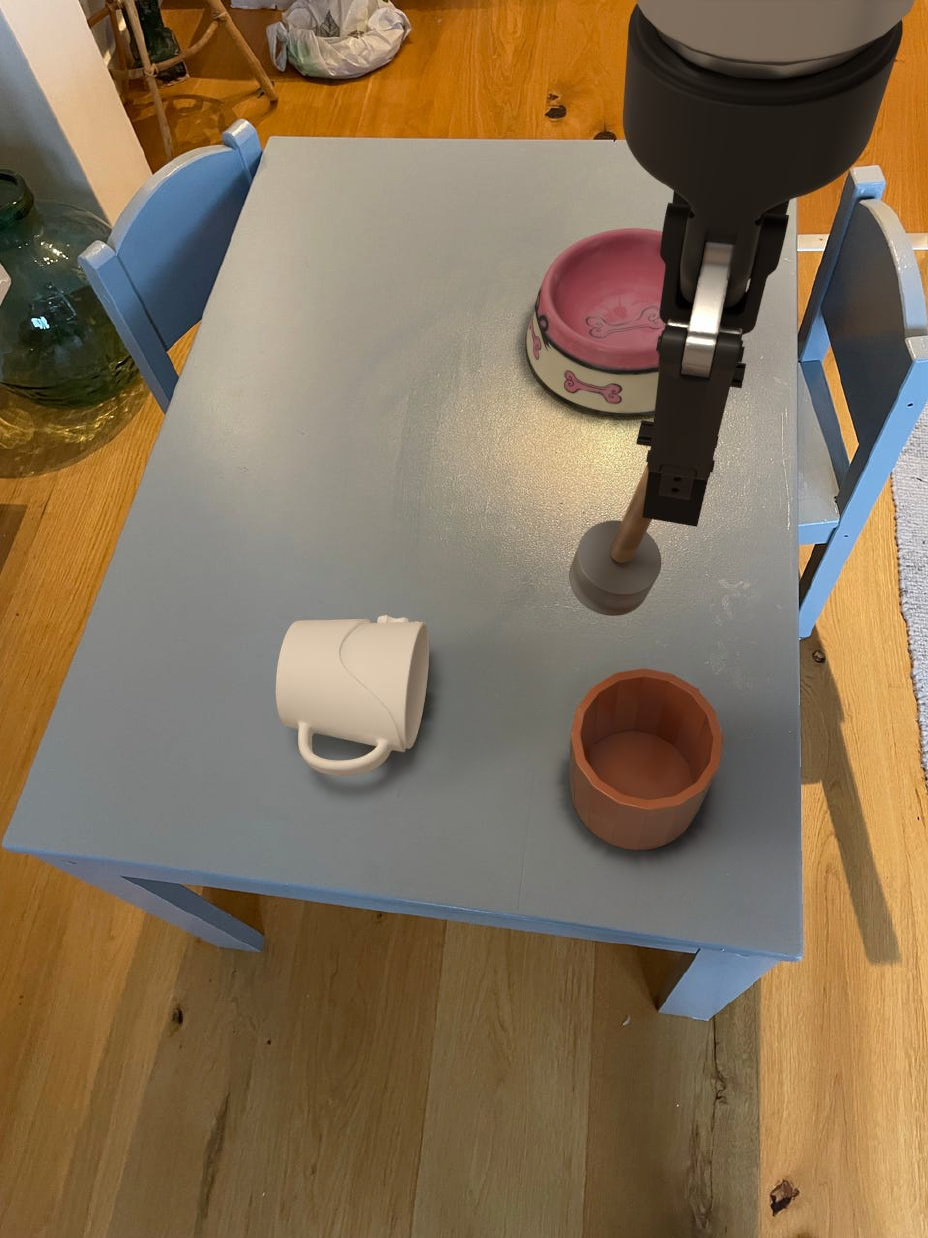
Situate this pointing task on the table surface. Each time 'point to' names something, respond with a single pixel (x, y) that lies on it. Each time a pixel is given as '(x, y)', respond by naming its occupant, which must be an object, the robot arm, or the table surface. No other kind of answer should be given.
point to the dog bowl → (601, 324)
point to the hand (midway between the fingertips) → (674, 498)
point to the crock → (642, 757)
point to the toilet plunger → (617, 561)
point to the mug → (353, 686)
